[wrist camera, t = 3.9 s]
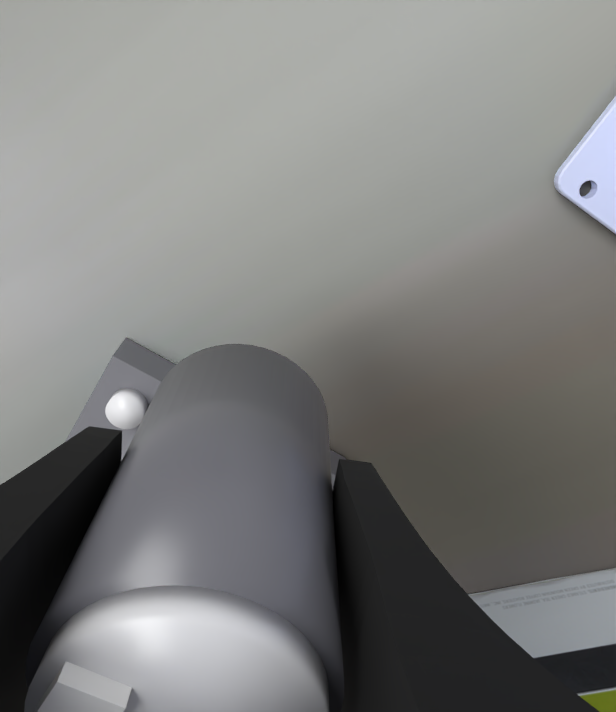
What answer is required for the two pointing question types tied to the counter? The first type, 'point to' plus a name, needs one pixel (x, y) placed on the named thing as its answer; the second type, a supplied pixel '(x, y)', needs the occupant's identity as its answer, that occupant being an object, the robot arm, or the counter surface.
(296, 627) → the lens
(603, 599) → the tea box
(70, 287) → the counter surface
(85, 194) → the counter surface
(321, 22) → the counter surface
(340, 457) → the grey square plate
